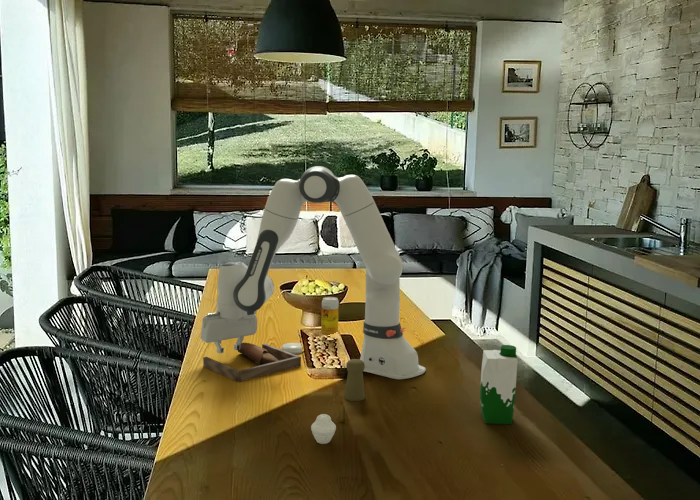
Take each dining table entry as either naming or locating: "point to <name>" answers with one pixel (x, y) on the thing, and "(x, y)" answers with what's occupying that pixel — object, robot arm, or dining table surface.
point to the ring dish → (292, 348)
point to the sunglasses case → (257, 353)
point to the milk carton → (498, 385)
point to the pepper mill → (355, 380)
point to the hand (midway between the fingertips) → (228, 351)
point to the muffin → (323, 429)
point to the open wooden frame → (285, 363)
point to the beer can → (329, 315)
